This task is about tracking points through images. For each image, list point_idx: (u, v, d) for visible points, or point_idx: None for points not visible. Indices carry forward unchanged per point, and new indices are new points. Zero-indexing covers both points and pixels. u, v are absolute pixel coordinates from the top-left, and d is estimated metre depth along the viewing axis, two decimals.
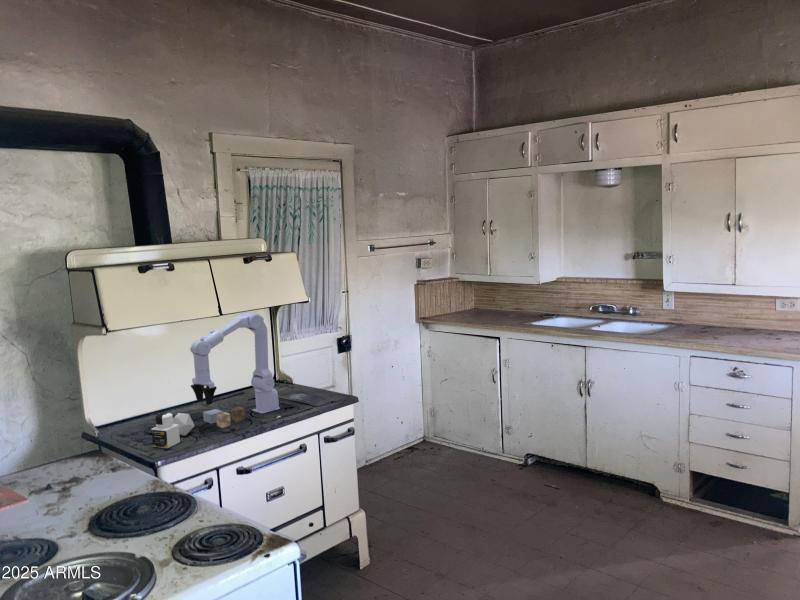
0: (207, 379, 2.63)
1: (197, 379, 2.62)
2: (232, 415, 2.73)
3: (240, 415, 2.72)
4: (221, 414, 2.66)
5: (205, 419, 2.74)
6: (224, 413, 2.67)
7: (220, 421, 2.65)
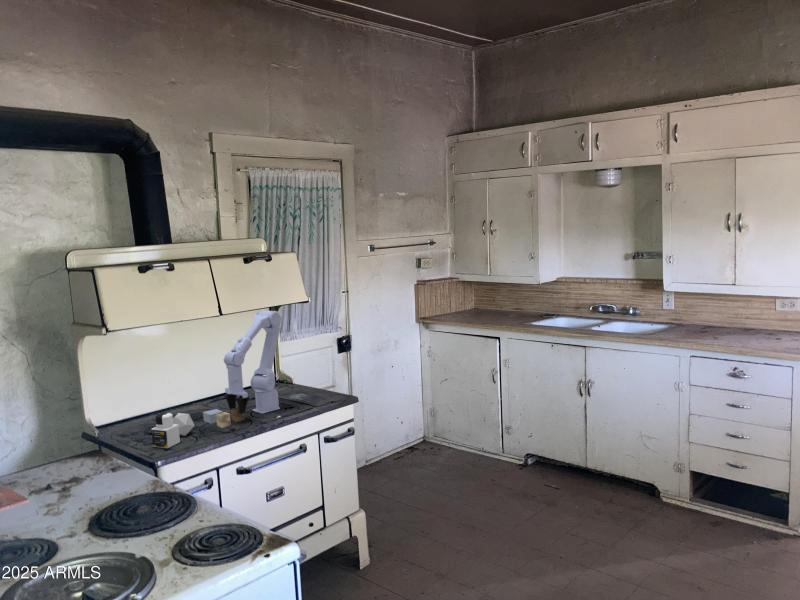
0: (241, 389, 2.71)
1: (231, 389, 2.70)
2: (232, 415, 2.73)
3: (240, 415, 2.72)
4: (221, 414, 2.66)
5: (205, 419, 2.74)
6: (224, 413, 2.67)
7: (220, 421, 2.65)
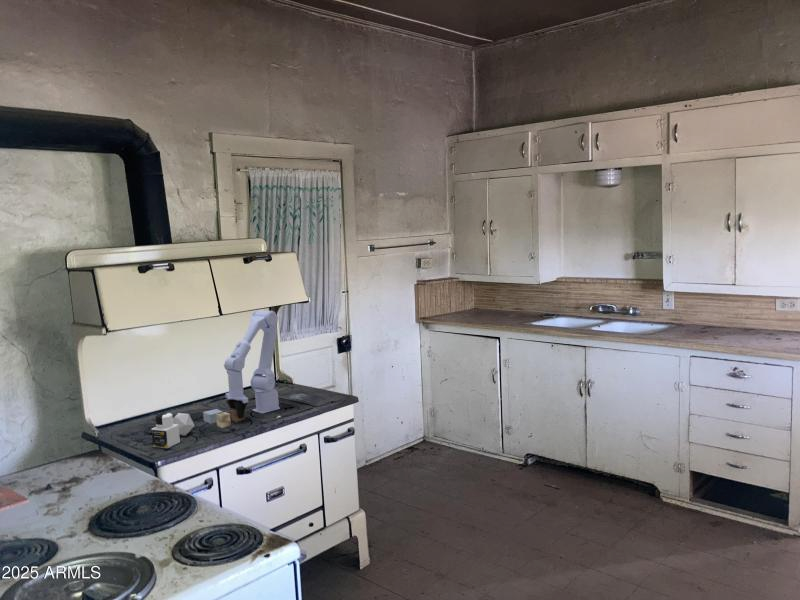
0: (241, 394, 2.71)
1: (231, 394, 2.70)
2: (232, 415, 2.73)
3: None
4: (221, 414, 2.66)
5: (205, 419, 2.74)
6: (224, 413, 2.67)
7: (220, 421, 2.65)
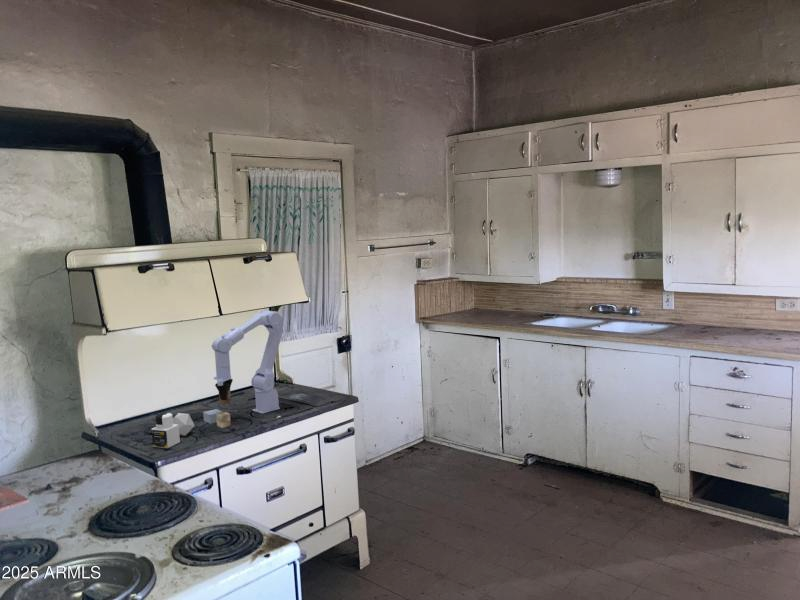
0: (223, 376, 2.69)
1: (216, 375, 2.71)
2: None
3: None
4: (221, 414, 2.66)
5: (205, 419, 2.74)
6: (224, 413, 2.67)
7: (220, 421, 2.65)
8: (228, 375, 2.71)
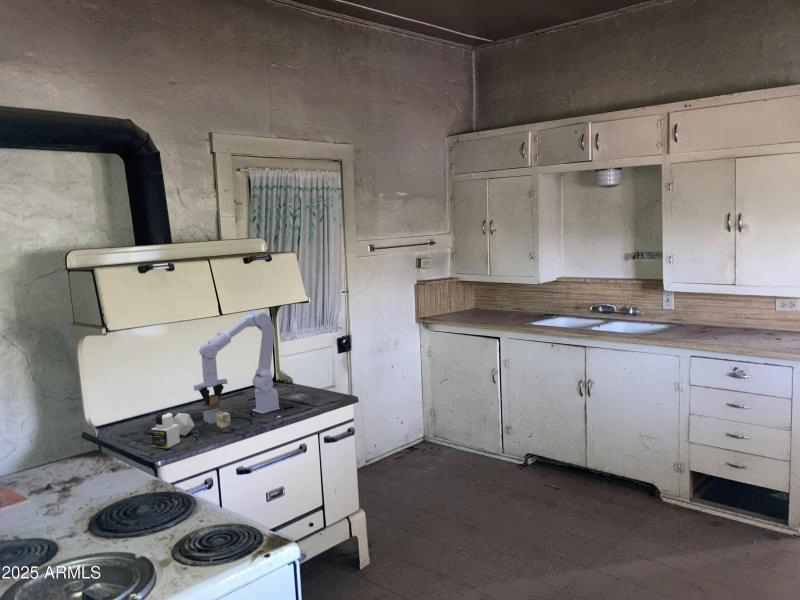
0: (205, 382, 2.70)
1: None
2: None
3: None
4: (221, 414, 2.66)
5: (205, 419, 2.74)
6: (224, 413, 2.67)
7: (220, 421, 2.65)
8: (210, 382, 2.70)
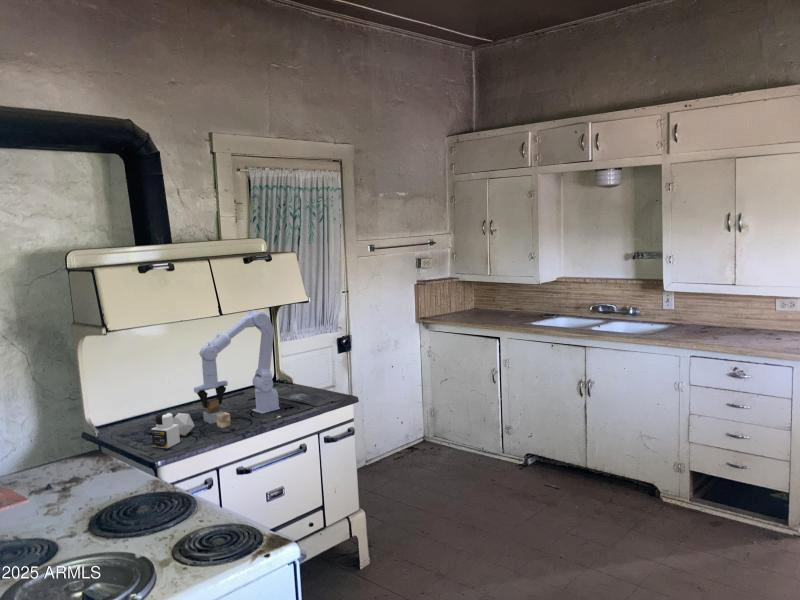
0: (205, 384, 2.70)
1: None
2: None
3: (208, 407, 2.73)
4: (221, 414, 2.66)
5: (205, 419, 2.74)
6: (224, 413, 2.67)
7: (220, 421, 2.65)
8: (210, 384, 2.70)
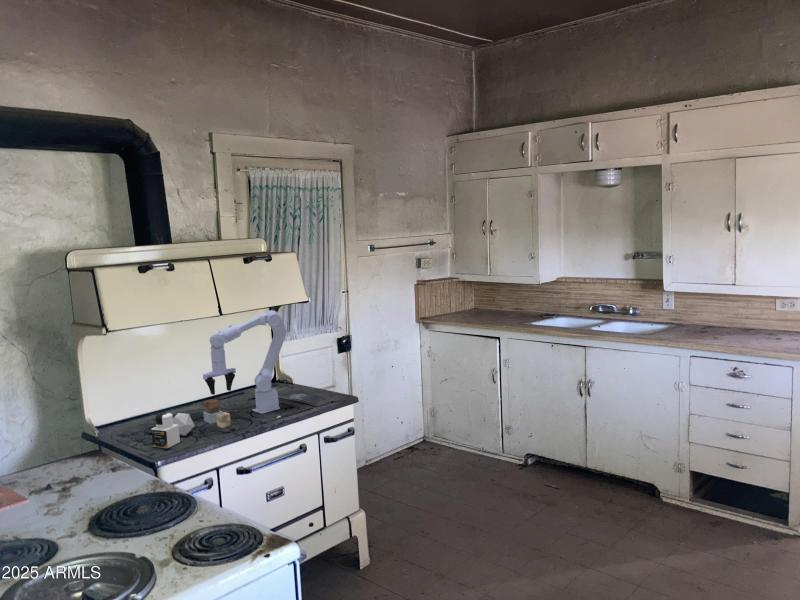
0: (214, 371, 2.76)
1: None
2: None
3: (207, 407, 2.72)
4: (221, 414, 2.66)
5: (205, 419, 2.74)
6: (224, 413, 2.67)
7: (220, 421, 2.65)
8: (218, 370, 2.76)
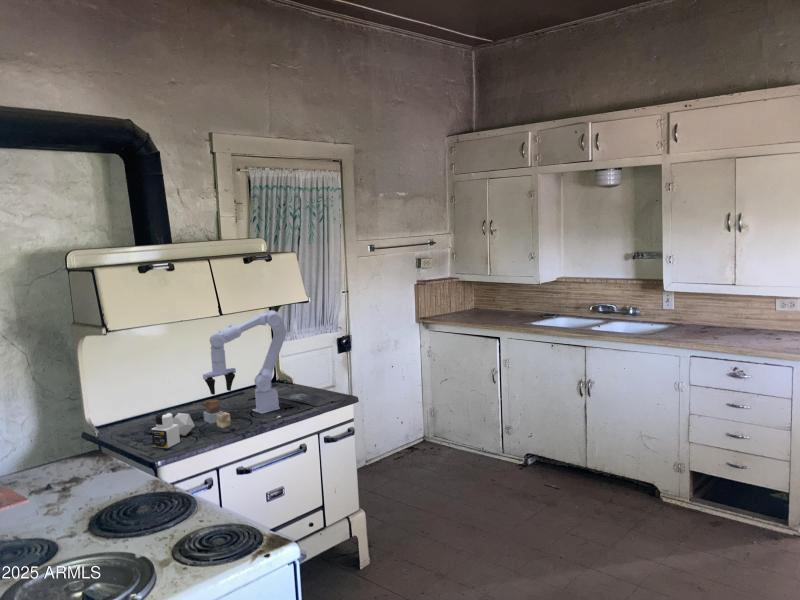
0: (214, 371, 2.76)
1: None
2: None
3: (208, 407, 2.72)
4: (221, 414, 2.66)
5: (205, 419, 2.74)
6: (224, 413, 2.67)
7: (220, 421, 2.65)
8: (218, 370, 2.76)
